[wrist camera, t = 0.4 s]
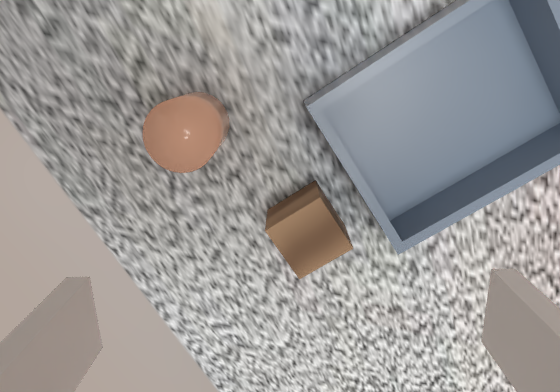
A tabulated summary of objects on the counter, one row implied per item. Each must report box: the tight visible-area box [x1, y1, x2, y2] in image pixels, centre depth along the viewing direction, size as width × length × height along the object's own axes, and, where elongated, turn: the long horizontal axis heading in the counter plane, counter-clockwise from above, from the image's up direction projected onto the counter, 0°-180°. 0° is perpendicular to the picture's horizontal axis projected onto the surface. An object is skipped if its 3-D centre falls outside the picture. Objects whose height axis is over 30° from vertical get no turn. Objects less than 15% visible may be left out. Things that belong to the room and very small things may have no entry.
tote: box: [304, 0, 560, 254], centre depth 32 cm, size 14×18×5 cm
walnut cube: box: [265, 180, 353, 279], centre depth 35 cm, size 5×5×5 cm
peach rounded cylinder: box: [143, 92, 229, 173], centre depth 32 cm, size 5×5×7 cm
